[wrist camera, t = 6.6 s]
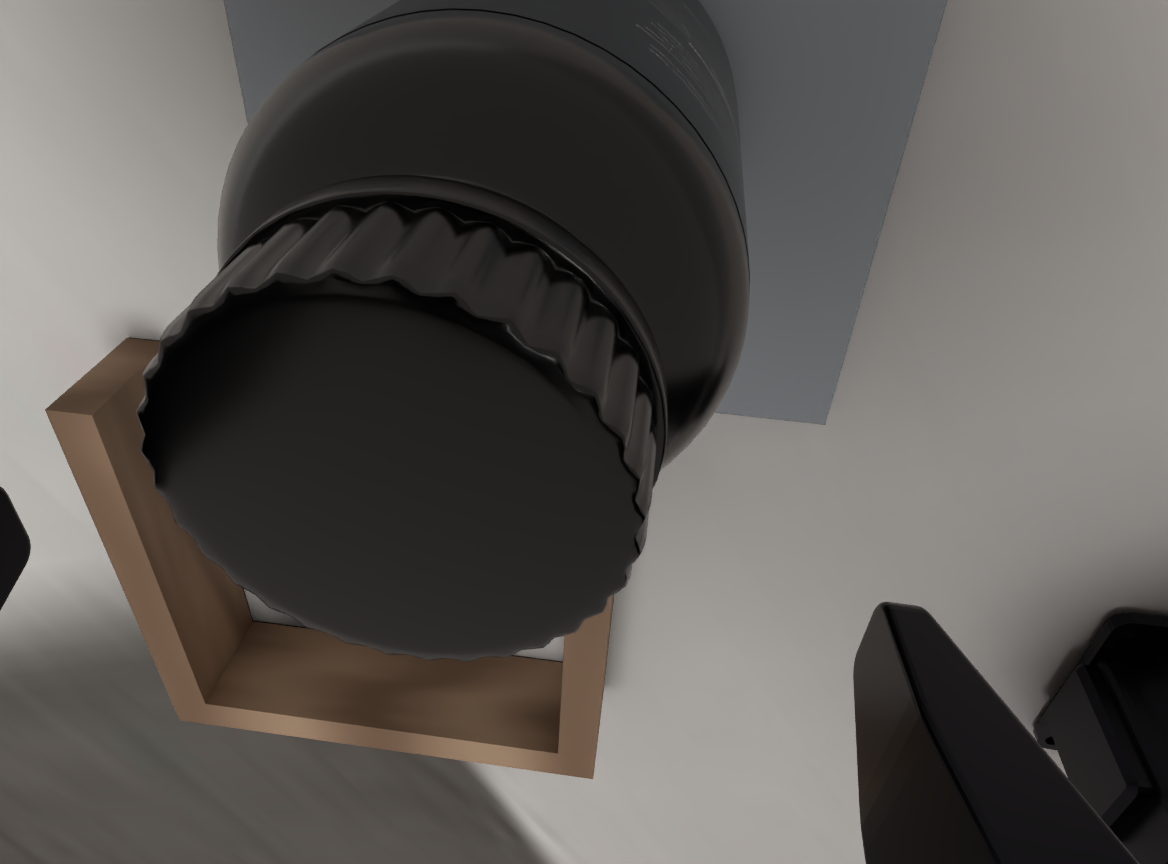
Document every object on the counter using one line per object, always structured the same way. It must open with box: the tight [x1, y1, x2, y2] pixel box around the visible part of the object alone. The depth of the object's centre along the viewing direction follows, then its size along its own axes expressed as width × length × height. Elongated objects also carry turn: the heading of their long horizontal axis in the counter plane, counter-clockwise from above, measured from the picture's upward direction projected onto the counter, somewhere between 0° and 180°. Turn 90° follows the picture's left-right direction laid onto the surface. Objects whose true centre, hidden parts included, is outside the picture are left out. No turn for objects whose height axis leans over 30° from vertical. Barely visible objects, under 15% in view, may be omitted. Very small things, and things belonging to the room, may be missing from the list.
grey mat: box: [224, 0, 947, 425], centre depth 17 cm, size 14×14×1 cm
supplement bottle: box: [136, 0, 750, 662], centre depth 12 cm, size 7×7×12 cm
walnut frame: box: [45, 338, 614, 779], centre depth 24 cm, size 14×13×4 cm
